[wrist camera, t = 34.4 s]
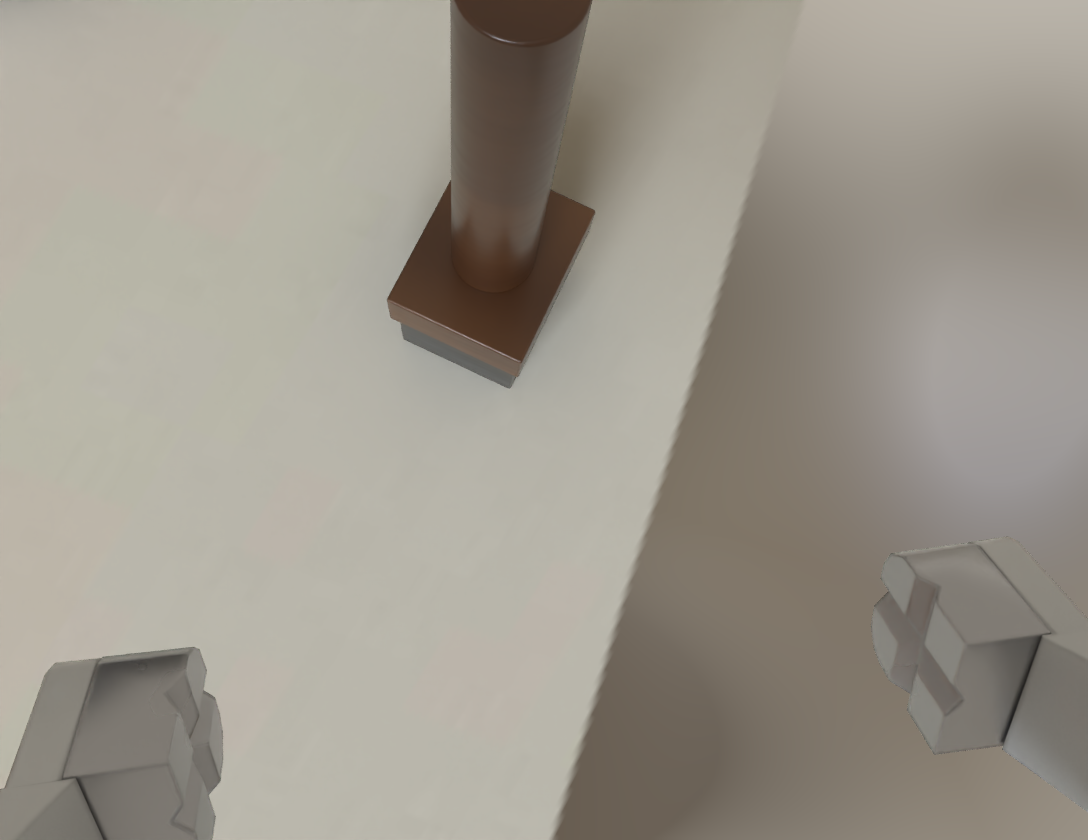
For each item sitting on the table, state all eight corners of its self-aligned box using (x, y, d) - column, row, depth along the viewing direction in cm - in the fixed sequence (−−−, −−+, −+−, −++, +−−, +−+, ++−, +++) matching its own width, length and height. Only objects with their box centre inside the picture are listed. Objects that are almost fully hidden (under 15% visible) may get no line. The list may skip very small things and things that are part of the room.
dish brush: (464, 207, 32) (476, -189, 17) (579, 260, 32) (696, -86, 17) (394, 341, 31) (335, 50, 16) (512, 397, 31) (573, 161, 16)
